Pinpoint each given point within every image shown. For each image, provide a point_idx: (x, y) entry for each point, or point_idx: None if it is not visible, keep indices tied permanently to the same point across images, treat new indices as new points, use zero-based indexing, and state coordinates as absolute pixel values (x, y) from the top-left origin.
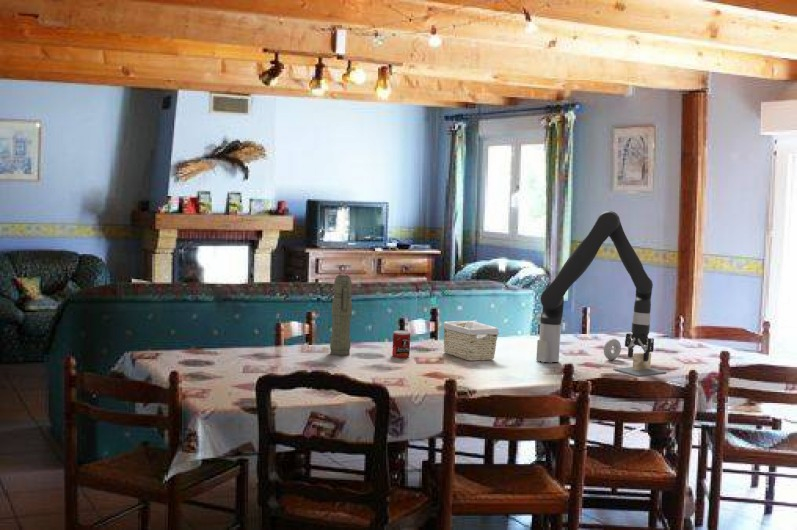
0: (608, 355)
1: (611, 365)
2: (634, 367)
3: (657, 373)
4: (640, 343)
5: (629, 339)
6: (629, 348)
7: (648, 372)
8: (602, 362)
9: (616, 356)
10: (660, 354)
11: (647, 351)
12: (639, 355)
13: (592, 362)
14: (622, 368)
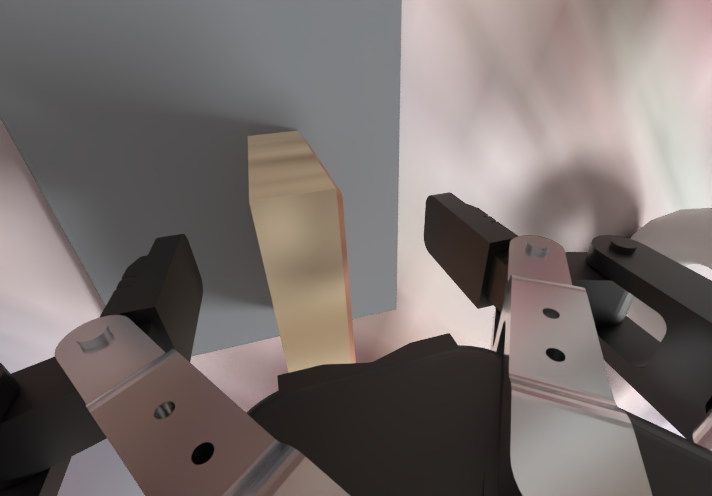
0: (670, 222)
1: (546, 110)
2: (273, 138)
3: (91, 274)
4: (225, 444)
5: (697, 385)
6: (509, 244)
7: (113, 198)
8: (641, 123)
9: None
10: None
11: (57, 372)
12: (261, 248)
13: (702, 26)
14: (376, 52)
